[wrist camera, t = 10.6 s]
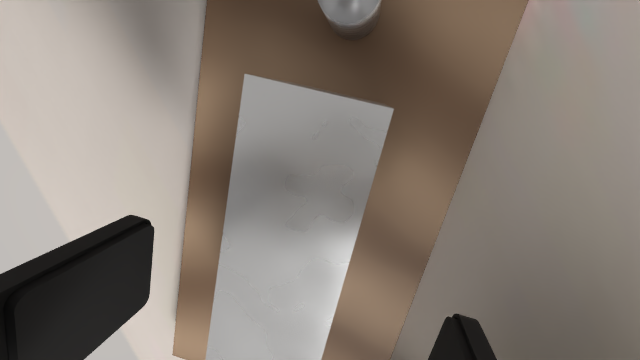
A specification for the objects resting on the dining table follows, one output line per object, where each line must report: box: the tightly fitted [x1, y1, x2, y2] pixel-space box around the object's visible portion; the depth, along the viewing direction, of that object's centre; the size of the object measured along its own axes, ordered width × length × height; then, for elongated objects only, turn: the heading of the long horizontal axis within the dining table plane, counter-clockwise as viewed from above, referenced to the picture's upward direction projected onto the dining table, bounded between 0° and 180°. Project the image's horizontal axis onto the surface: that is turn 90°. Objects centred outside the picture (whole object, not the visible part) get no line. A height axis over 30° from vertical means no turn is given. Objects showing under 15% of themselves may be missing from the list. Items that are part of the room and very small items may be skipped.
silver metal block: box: [205, 74, 394, 360], centre depth 12 cm, size 4×12×5 cm, turn 167°
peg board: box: [173, 0, 528, 360], centre depth 14 cm, size 22×12×4 cm, turn 167°
